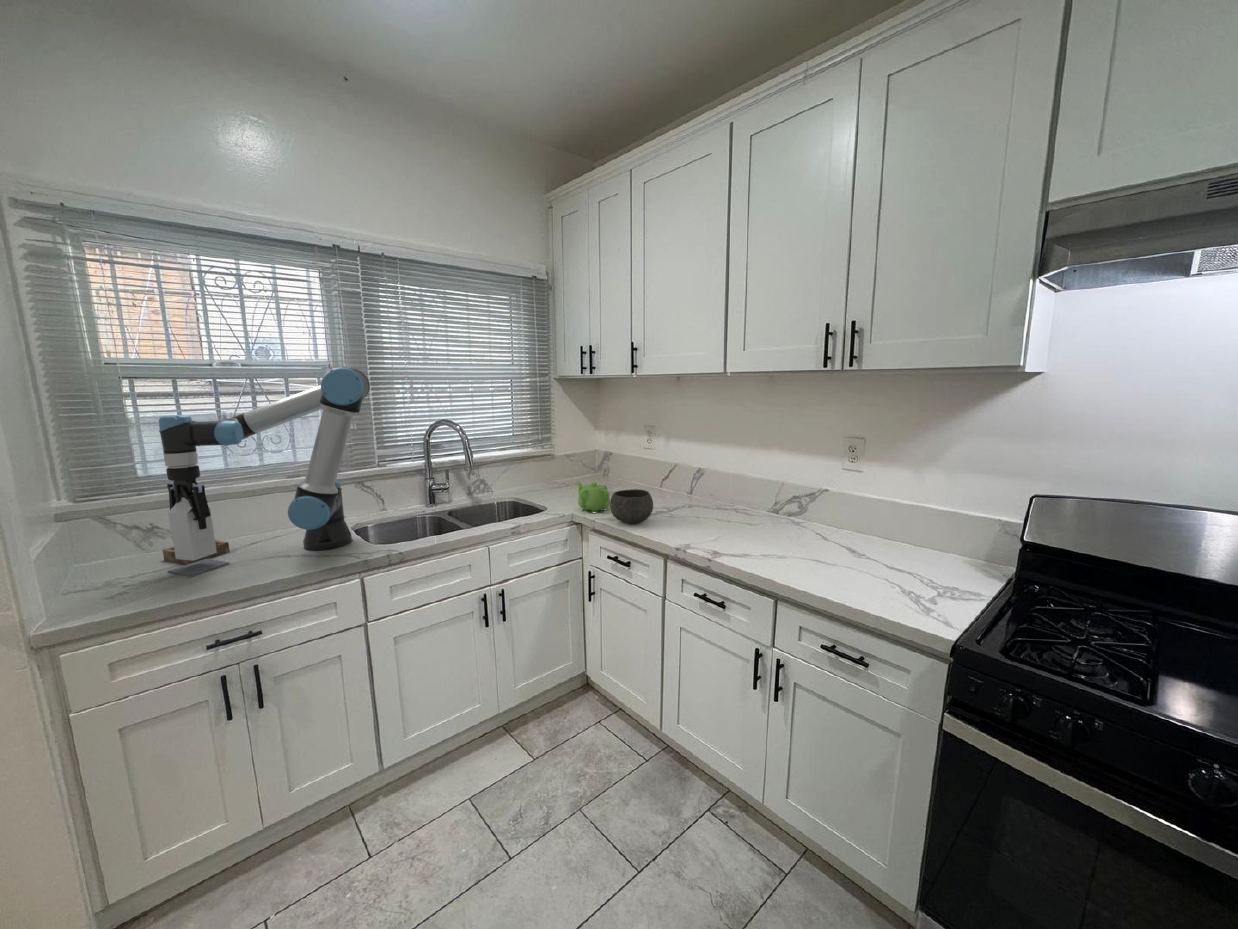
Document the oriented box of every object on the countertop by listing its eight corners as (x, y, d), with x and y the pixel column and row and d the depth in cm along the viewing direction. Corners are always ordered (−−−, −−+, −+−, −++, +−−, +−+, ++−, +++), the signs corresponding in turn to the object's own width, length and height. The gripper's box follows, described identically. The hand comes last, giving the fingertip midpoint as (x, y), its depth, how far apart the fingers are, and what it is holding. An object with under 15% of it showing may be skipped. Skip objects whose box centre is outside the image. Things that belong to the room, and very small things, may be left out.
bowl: (628, 531, 189) (628, 500, 187) (601, 521, 203) (600, 491, 201) (662, 523, 200) (662, 493, 198) (633, 513, 214) (633, 485, 212)
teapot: (572, 514, 214) (572, 486, 212) (576, 505, 228) (576, 479, 225) (609, 514, 213) (609, 486, 211) (611, 505, 227) (610, 479, 225)
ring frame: (229, 551, 169) (228, 542, 168) (188, 564, 157) (186, 554, 157) (206, 547, 173) (204, 538, 172) (164, 560, 161) (162, 550, 161)
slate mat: (229, 564, 157) (229, 562, 157) (190, 577, 147) (190, 575, 147) (207, 560, 161) (207, 558, 161) (167, 572, 151) (167, 570, 151)
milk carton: (194, 561, 149) (184, 501, 146) (175, 559, 151) (165, 500, 147) (217, 553, 156) (208, 495, 153) (199, 551, 158) (190, 494, 154)
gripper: (218, 465, 148) (228, 537, 152) (175, 462, 155) (186, 530, 159) (190, 470, 142) (201, 545, 146) (146, 466, 148) (158, 537, 152)
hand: (193, 537), depth 152 cm, fingers closed on milk carton, 8 cm apart
